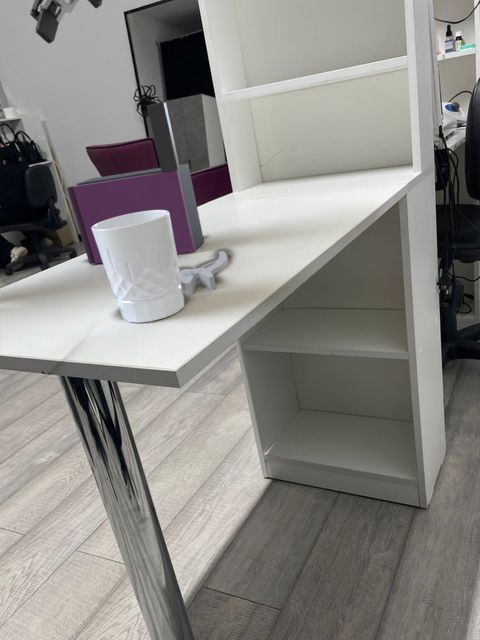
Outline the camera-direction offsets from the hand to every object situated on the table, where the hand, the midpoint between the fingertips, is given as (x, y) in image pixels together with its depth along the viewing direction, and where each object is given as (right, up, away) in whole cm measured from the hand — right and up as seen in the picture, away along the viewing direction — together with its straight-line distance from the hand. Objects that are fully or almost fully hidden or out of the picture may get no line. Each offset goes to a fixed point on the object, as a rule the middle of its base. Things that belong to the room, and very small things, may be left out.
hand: (67, 19), depth 64 cm
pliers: (+15, -30, +5) cm, 34 cm away
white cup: (+11, -35, -5) cm, 37 cm away
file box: (+6, -23, +22) cm, 32 cm away
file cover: (+5, -25, +19) cm, 31 cm away
